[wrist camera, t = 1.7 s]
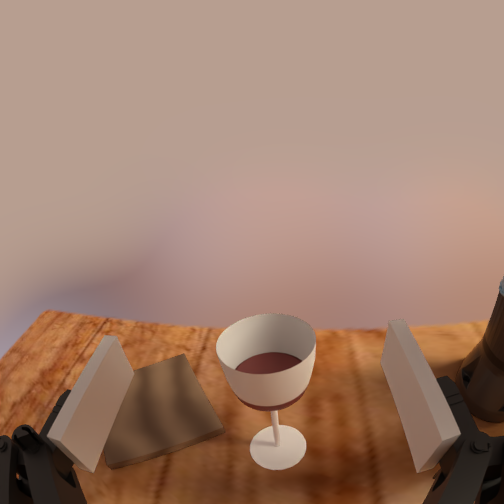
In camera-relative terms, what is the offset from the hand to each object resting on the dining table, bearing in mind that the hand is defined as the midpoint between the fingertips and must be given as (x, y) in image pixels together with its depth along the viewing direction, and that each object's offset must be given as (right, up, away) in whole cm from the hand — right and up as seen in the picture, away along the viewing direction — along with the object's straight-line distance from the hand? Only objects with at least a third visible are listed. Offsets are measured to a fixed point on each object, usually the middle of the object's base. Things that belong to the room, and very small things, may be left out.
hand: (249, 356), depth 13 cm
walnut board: (-16, -20, +27) cm, 37 cm away
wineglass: (+4, -21, +20) cm, 30 cm away
